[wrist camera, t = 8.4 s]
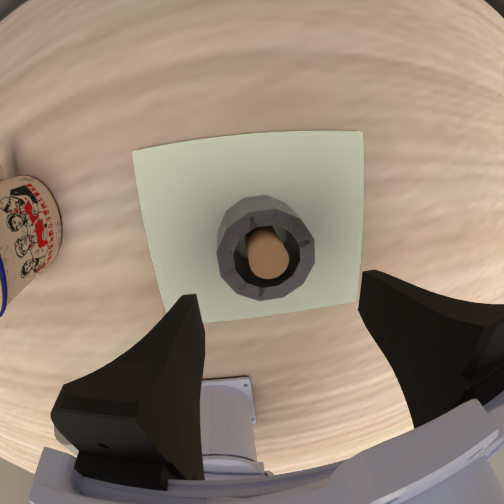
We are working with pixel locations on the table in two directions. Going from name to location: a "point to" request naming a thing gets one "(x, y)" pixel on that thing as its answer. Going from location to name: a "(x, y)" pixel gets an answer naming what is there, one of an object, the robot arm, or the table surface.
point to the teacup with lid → (25, 234)
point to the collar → (238, 268)
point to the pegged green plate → (260, 238)
